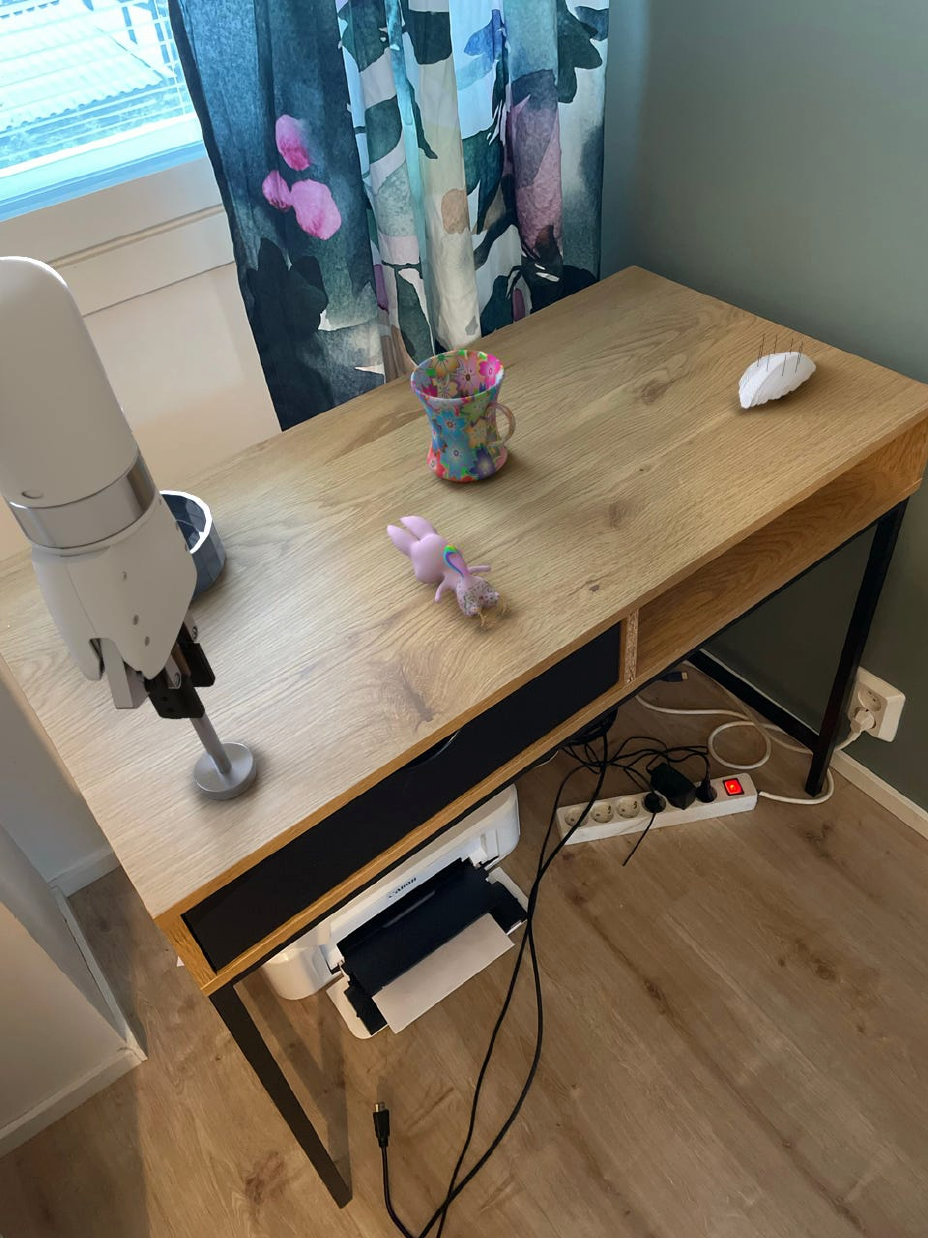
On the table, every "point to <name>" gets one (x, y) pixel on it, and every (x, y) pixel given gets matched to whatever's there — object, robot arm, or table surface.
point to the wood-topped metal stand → (218, 754)
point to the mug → (463, 413)
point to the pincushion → (774, 376)
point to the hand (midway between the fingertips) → (188, 698)
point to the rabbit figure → (445, 567)
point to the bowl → (198, 536)
